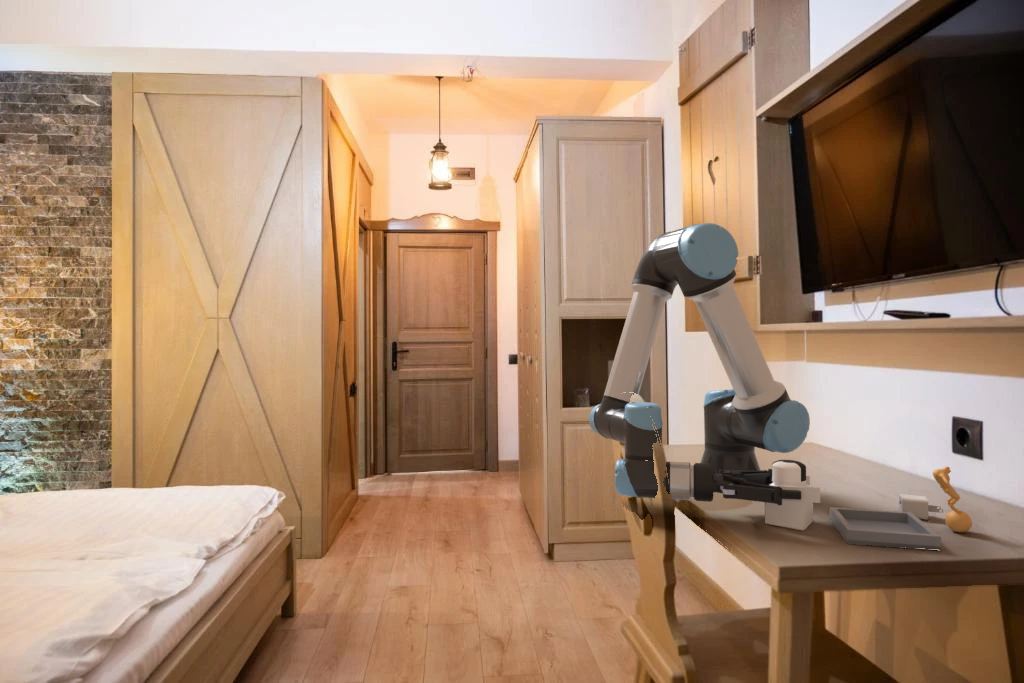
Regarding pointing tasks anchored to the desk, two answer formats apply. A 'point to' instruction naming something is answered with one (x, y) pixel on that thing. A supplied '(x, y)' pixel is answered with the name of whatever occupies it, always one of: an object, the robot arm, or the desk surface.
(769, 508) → the medicine bottle
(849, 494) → the desk surface
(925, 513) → the usb wall charger
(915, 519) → the tray
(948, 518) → the figurine
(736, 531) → the desk surface
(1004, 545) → the desk surface
